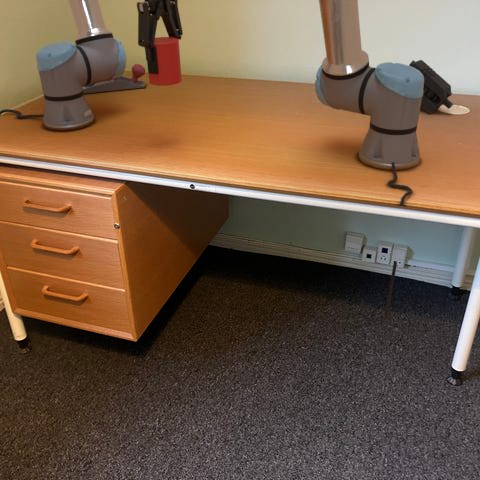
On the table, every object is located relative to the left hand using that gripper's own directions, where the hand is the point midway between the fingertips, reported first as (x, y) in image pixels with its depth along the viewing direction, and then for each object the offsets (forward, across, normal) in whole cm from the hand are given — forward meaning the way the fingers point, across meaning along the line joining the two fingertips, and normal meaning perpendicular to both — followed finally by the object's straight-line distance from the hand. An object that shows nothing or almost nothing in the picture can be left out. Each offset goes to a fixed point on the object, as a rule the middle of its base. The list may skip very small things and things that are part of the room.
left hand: (164, 69), depth 140 cm
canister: (+3, 0, 0) cm, 3 cm away
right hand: (-13, +52, -51) cm, 74 cm away
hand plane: (+21, +34, +54) cm, 67 cm away
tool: (+21, +61, -55) cm, 85 cm away
